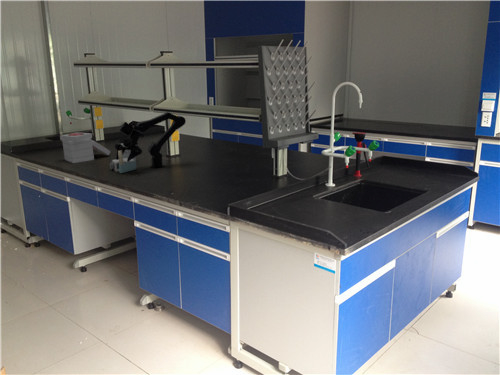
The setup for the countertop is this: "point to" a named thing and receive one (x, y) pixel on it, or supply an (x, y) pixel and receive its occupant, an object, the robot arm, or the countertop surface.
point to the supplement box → (127, 154)
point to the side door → (125, 164)
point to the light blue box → (115, 163)
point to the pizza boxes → (80, 147)
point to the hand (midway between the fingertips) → (122, 160)
